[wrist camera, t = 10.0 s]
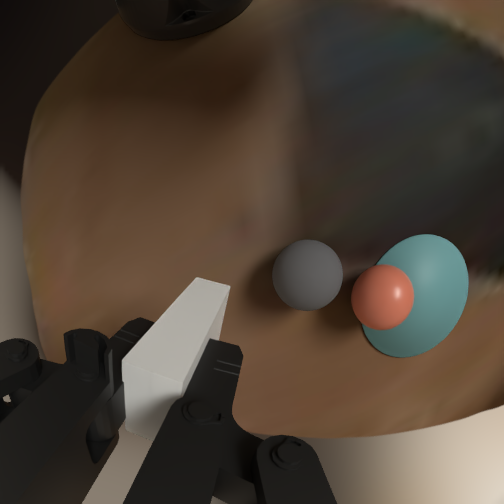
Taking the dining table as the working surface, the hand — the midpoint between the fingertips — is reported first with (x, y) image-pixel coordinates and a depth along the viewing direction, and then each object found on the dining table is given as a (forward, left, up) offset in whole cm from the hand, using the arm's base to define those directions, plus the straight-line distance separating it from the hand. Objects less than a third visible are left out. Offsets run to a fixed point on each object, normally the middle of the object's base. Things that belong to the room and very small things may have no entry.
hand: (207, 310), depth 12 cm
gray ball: (+5, +2, -10) cm, 12 cm away
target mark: (+17, +6, -13) cm, 22 cm away
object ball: (+12, +4, -10) cm, 16 cm away
